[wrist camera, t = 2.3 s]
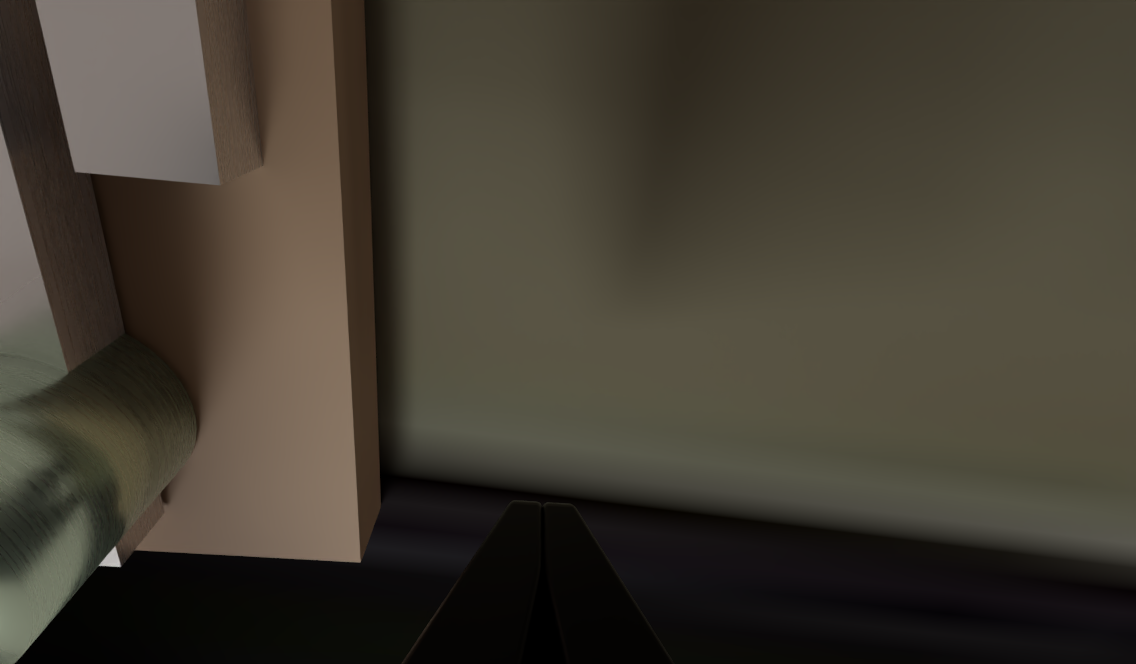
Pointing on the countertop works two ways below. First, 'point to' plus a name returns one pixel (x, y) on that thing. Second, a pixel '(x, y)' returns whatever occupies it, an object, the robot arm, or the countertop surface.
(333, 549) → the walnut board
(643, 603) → the countertop surface
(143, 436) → the tong arm
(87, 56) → the base
